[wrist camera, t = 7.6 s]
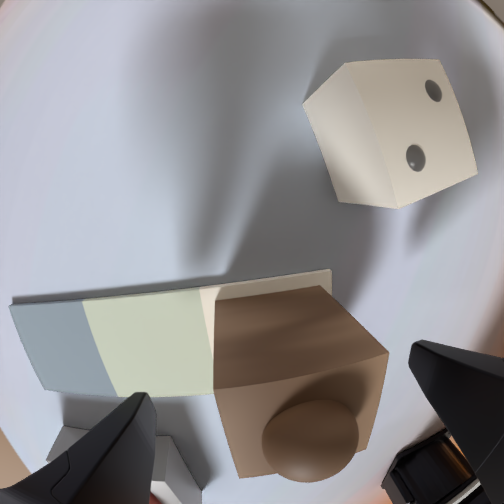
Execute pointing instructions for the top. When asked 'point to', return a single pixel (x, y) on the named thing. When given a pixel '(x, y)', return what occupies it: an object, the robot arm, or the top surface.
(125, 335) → the mat
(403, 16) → the top surface
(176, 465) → the button housing
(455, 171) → the die
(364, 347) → the cube with dome knob
